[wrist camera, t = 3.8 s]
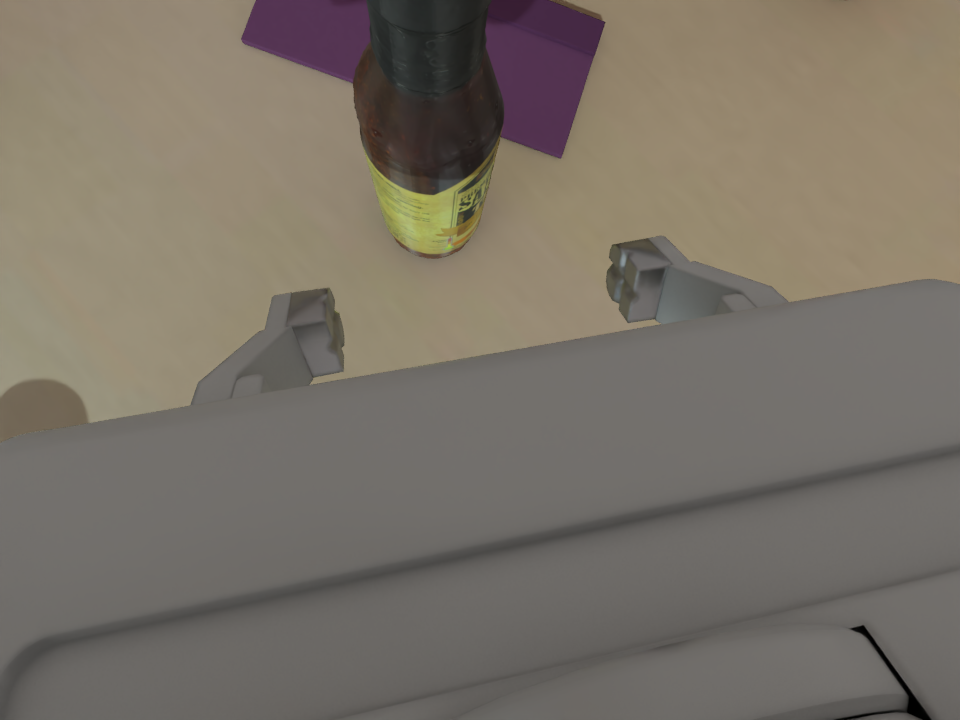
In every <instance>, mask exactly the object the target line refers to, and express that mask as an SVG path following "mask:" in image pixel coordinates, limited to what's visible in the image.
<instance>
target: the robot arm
mask: <svg viewBox="0 0 960 720" xmlns="http://www.w3.org/2000/svg"><path fill="white" fill-rule="evenodd" d="M609 258H610V260H611V261H612V263H613V264H612V265H611V267H610V268H609V269H608V270H607V276H606V284H607V290H608V293H609V296H610V297H611V299H612V300H613V301H614V302H617V303H619V311H620V312H621V314H622V315H623V317H624V318H625V320H626V321H627V323H631V322H638V321H645V320H652V319H655V320H656V321H657V322H659V323H661V324H660V325H655V326H649V327H643V328H637V329H632V330H626V331H620V332H614V333H608V334H603V335H597V336H591V337H585V338H579V339H574V340H568V341H562V342H556V343H551V344H545V345H539V346H533V347H527V348H522V349H516V350H510V351H504V352H498V353H493V354H487V355H481V356H475V357H469V358H464V359H458V360H452V361H446V362H441V363H435V364H429V365H423V366H417V367H412V368H406V369H400V370H394V371H388V372H383V373H377V374H371V375H365V376H359V377H354V378H348V379H342V380H336V381H331V382H325V383H319V384H313V385H309V384H310V383H311V381H312V380H313V377H318V376H323V375H329V374H334V373H339V372H344V354H343V351H342V347H343V346H344V331H343V326H342V322H341V318H340V315H339V313H338V312H336V311H335V310H334V309H335V300H334V297H333V294H332V291H331V289H330V288H322V289H315V290H308V291H300V292H293V293H285V294H279V295H274V296H273V297H272V300H271V304H270V309H269V313H268V317H267V322H266V326H265V330H263V331H259V332H258V333H257V334H255V335H254V336H253V337H252V338H251V339H249V340H248V341H247V342H246V343H245V344H243V345H242V346H241V347H240V348H239V349H238V350H236V351H235V352H234V353H233V354H232V355H230V356H229V357H228V358H227V359H226V360H224V361H223V362H222V363H221V364H220V365H218V366H217V367H216V368H215V369H214V370H213V371H211V372H210V373H209V374H208V375H207V376H205V377H204V378H203V379H202V380H201V381H199V382H198V384H197V387H196V390H195V393H194V396H193V399H192V402H191V405H190V406H185V407H180V408H174V409H168V410H162V411H156V412H151V413H145V414H139V415H133V416H127V417H122V418H116V419H110V420H104V421H98V422H93V423H87V424H81V425H75V426H69V427H63V428H56V429H50V430H43V431H37V432H31V433H26V434H21V435H18V436H15V437H12V438H9V439H7V440H5V441H3V442H1V443H0V720H960V284H956V283H952V282H948V281H942V280H937V279H922V280H914V281H909V282H903V283H898V284H892V285H887V286H881V287H875V288H869V289H863V290H858V291H852V292H846V293H840V294H835V295H829V296H823V297H817V298H811V299H806V300H800V301H794V302H788V301H787V300H786V299H785V298H784V297H783V296H782V295H780V294H779V293H778V292H777V291H776V290H775V289H774V288H773V287H771V286H768V285H765V284H762V283H759V282H756V281H753V280H750V279H747V278H744V277H741V276H738V275H735V274H732V273H729V272H726V271H723V270H720V269H717V268H714V267H711V266H708V265H705V264H702V263H699V262H696V261H694V262H690V261H689V260H688V259H687V258H686V257H685V256H684V255H683V254H682V253H681V252H680V251H679V250H678V249H677V248H676V247H675V246H674V245H673V244H672V243H671V242H670V241H669V240H668V239H667V238H666V237H665V236H656V237H651V238H646V239H641V240H635V241H630V242H624V243H619V244H613V245H612V247H611V249H610V254H609Z"/></svg>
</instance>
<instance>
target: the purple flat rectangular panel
mask: <svg viewBox="0 0 960 720" xmlns="http://www.w3.org/2000/svg"><path fill="white" fill-rule="evenodd" d="M604 24H605V22H604V21H601V20H599V19H596V18H593V17H591V16H588V15H586V14H583V13H580V12H578V11H575V10H573V9H570V8H568V7H565V6H562V5H560V4H557V3H555V2H552V1H549V0H492V1H491V3H490V5H489V6H488V16H487V21H486V28H485V32H486V37H487V42H486V49H487V52H488V55H489V58H490V61H491V64H492V67H493V70H494V73H495V76H496V79H497V82H498V85H499V88H500V91H501V94H502V97H503V102H504V123H503V127H502V132H501V136H500V137H503V138H506V139H508V140H511V141H514V142H517V143H519V144H522V145H525V146H528V147H530V148H533V149H536V150H539V151H541V152H544V153H547V154H550V155H552V156H555V157H558V158H561V157H562V154H563V151H564V148H565V145H566V142H567V139H568V136H569V132H570V129H571V126H572V123H573V120H574V117H575V114H576V111H577V107H578V104H579V101H580V98H581V95H582V92H583V89H584V85H585V82H586V79H587V76H588V73H589V70H590V67H591V63H592V60H593V57H594V55H595V52H596V49H597V46H598V43H599V40H600V37H601V34H602V31H603V27H604ZM369 27H370V19H369V13H368V8H367V2H366V0H256V1H255V4H254V7H253V9H252V12H251V15H250V17H249V20H248V23H247V25H246V28H245V30H244V33H243V36H242V38H241V40H242V42H243V43H244V44H247V45H249V46H252V47H255V48H258V49H260V50H263V51H266V52H269V53H271V54H274V55H277V56H280V57H282V58H285V59H288V60H291V61H293V62H296V63H299V64H302V65H304V66H307V67H310V68H313V69H316V70H318V71H321V72H324V73H327V74H329V75H332V76H335V77H338V78H340V79H343V80H346V81H349V82H351V83H353V79H354V75H355V69H356V67H357V65H358V63H359V60H360V57H361V55H362V52H363V51H364V50H365V48H366V46H367V45H368V43H369V42H370V41H371V40H370V30H369Z"/></svg>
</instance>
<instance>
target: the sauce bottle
mask: <svg viewBox="0 0 960 720" xmlns="http://www.w3.org/2000/svg"><path fill="white" fill-rule="evenodd" d="M491 1H492V0H366V2H367V8H368V13H369V19H370V27H369V30H370V40H371V41H370V42H369V43H368V45H367V46H366V48H365V50H364V51H363V52H362V55H361V57H360V60H359V63H358V65H357V67H356V69H355V75H354V79H353V88H354V103H355V109H356V112H357V118H358V121H359V125H360V135H361V140H362V144H363V148H364V152H365V155H366V159H367V162H368V166H369V169H370V173H371V176H372V180H373V183H374V187H375V190H376V194H377V198H378V201H379V204H380V208H381V211H382V214H383V217H384V220H385V223H386V225H387V227H388V229H389V231H390V232H391V234H392V235H393V236H394V238H395V240H396V241H397V243H399V244H400V246H401V247H403V248H405V249H406V250H408V251H409V252H412V253H413V254H415V255H418V256H420V257H425V258H432V259H435V258H442V257H446V256H449V255H451V254H453V253H455V252H458V251H459V250H460V249H461V248H462V247H463V246H464V245H465V244H466V243H467V242H468V241H469V239H470V238H471V236H472V235H473V234H474V232H475V231H476V229H477V227H478V224H479V221H480V218H481V214H482V210H483V206H484V202H485V198H486V194H487V190H488V188H489V183H490V179H491V173H492V170H493V166H494V162H495V156H496V153H497V149H498V145H499V141H500V136H501V132H502V127H503V123H504V102H503V97H502V94H501V91H500V88H499V85H498V82H497V79H496V76H495V73H494V70H493V67H492V64H491V61H490V58H489V55H488V52H487V49H486V42H487V37H486V32H485V28H486V21H487V16H488V6H489V5H490V3H491Z"/></svg>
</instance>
